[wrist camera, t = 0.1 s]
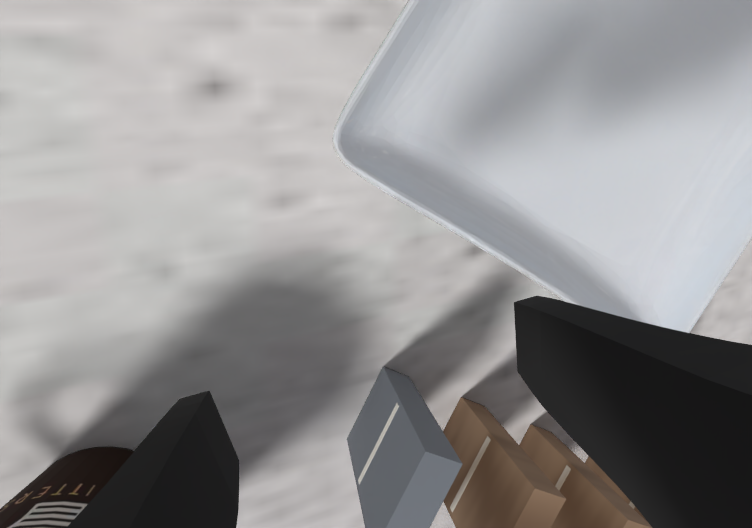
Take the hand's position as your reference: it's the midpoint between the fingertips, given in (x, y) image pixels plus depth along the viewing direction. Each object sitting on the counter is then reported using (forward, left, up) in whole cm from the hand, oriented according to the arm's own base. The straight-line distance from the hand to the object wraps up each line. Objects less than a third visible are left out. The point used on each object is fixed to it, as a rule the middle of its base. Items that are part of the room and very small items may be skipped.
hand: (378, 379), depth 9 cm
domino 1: (-5, -5, -11) cm, 13 cm away
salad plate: (+15, -8, -11) cm, 20 cm away
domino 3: (-5, -15, -11) cm, 19 cm away
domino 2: (-5, -10, -11) cm, 16 cm away
